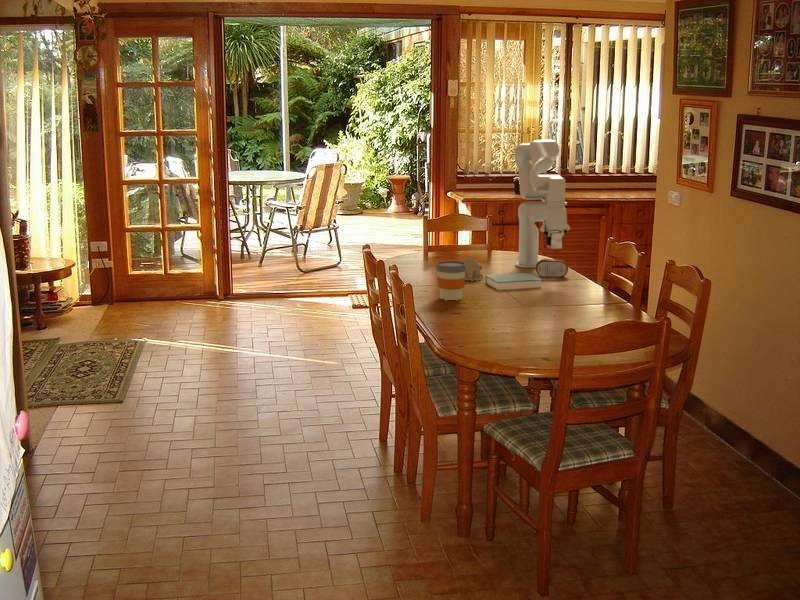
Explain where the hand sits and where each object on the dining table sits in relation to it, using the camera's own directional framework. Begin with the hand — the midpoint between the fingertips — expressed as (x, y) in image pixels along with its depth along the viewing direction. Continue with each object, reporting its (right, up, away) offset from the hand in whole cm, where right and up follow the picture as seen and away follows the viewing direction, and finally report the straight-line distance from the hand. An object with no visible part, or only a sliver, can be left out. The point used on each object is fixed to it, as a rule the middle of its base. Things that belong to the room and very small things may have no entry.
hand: (554, 244), depth 422 cm
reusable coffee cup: (-48, -25, -27) cm, 61 cm away
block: (0, -1, 0) cm, 2 cm away
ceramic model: (-38, -15, +12) cm, 43 cm away
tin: (+1, -15, +14) cm, 21 cm away
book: (-19, -19, -3) cm, 27 cm away
